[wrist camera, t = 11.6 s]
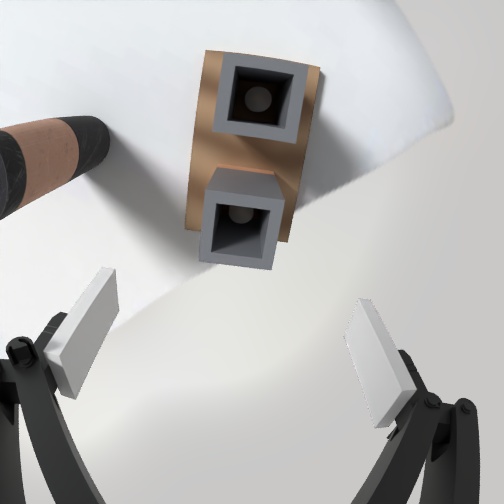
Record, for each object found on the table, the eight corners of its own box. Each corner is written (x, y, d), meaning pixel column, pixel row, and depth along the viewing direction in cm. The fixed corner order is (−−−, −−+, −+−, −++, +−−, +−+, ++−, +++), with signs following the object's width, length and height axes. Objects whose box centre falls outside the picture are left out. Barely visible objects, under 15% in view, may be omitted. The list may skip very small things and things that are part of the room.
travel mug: (122, 132, 34) (21, 164, 16) (94, 181, 37) (-3, 244, 19) (80, 103, 32) (-32, 117, 14) (55, 151, 34) (-52, 196, 16)
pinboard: (206, 51, 30) (195, 36, 23) (318, 68, 31) (337, 58, 24) (186, 225, 40) (172, 254, 32) (286, 238, 41) (295, 269, 33)
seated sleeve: (231, 71, 30) (223, 52, 20) (288, 79, 31) (308, 65, 20) (223, 124, 33) (212, 131, 22) (280, 132, 34) (295, 143, 23)
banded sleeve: (218, 164, 35) (205, 189, 24) (273, 171, 36) (284, 200, 25) (212, 215, 38) (198, 261, 27) (264, 222, 38) (271, 270, 28)
